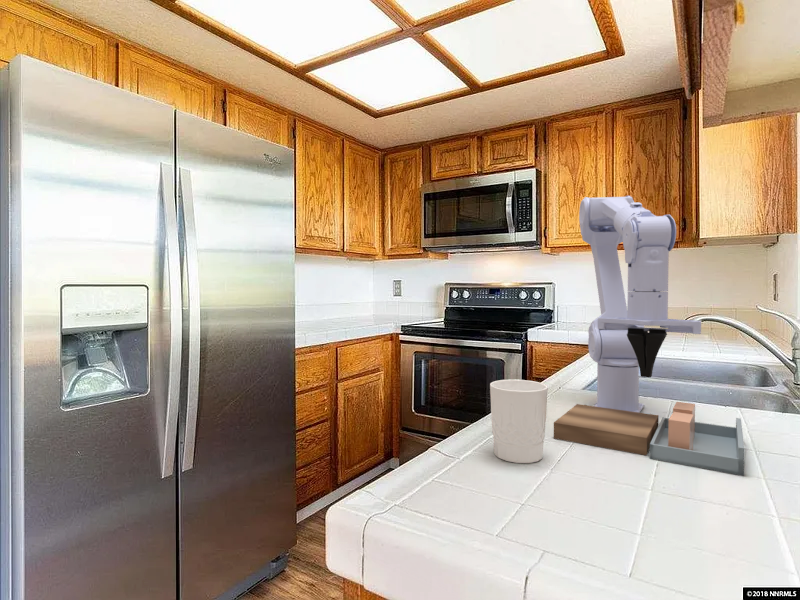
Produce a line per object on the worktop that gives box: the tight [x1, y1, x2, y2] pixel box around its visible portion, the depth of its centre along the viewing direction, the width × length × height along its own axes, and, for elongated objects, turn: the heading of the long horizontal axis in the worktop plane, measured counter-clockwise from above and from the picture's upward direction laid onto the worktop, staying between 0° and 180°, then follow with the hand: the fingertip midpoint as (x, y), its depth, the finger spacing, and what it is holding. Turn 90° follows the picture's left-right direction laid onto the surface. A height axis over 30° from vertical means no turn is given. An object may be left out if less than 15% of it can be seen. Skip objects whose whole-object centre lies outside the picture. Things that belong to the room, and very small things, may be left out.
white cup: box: [489, 379, 549, 464], centre depth 66 cm, size 8×8×10 cm
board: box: [553, 403, 659, 456], centre depth 75 cm, size 14×13×2 cm
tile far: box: [672, 401, 696, 440], centre depth 71 cm, size 5×5×2 cm
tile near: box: [668, 411, 694, 450], centre depth 65 cm, size 5×5×2 cm
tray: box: [649, 417, 745, 477], centre depth 68 cm, size 16×10×4 cm, turn 145°
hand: (646, 376), depth 74 cm, fingers closed
